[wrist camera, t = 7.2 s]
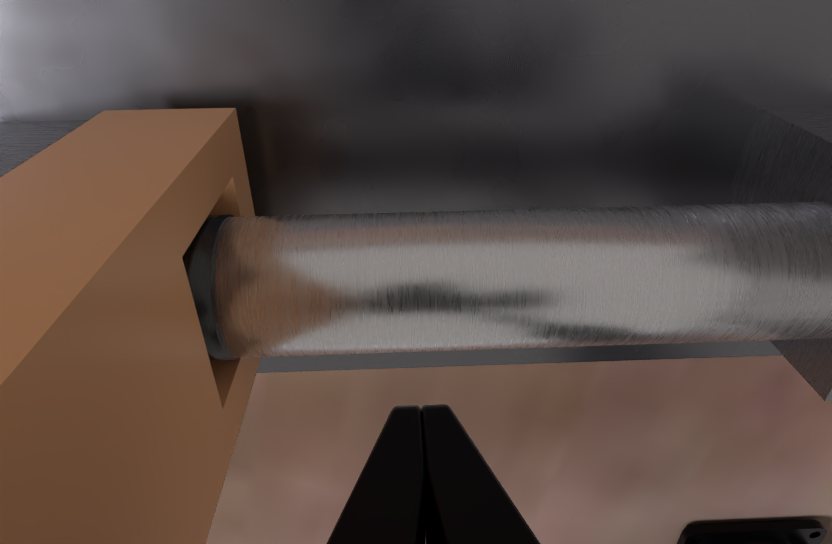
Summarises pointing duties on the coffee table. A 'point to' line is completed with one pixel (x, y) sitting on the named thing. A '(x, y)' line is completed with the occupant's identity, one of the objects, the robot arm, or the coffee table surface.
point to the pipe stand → (477, 171)
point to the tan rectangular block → (116, 332)
